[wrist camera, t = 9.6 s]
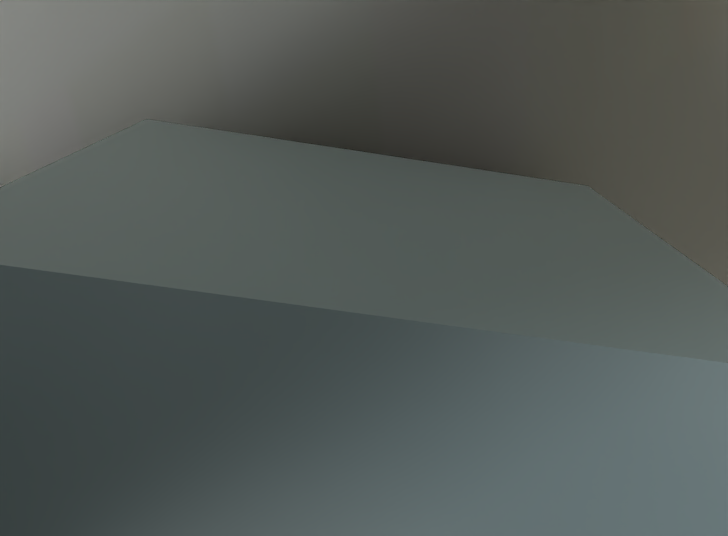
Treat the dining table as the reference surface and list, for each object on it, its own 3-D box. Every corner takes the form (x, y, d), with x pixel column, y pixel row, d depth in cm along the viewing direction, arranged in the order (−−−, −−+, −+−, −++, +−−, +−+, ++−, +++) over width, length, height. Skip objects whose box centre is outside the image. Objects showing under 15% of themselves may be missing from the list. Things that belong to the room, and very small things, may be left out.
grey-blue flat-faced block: (133, 486, 18) (-52, 875, 10) (146, 119, 15) (-128, 247, 6) (491, 528, 19) (596, 924, 11) (587, 185, 15) (859, 381, 7)
